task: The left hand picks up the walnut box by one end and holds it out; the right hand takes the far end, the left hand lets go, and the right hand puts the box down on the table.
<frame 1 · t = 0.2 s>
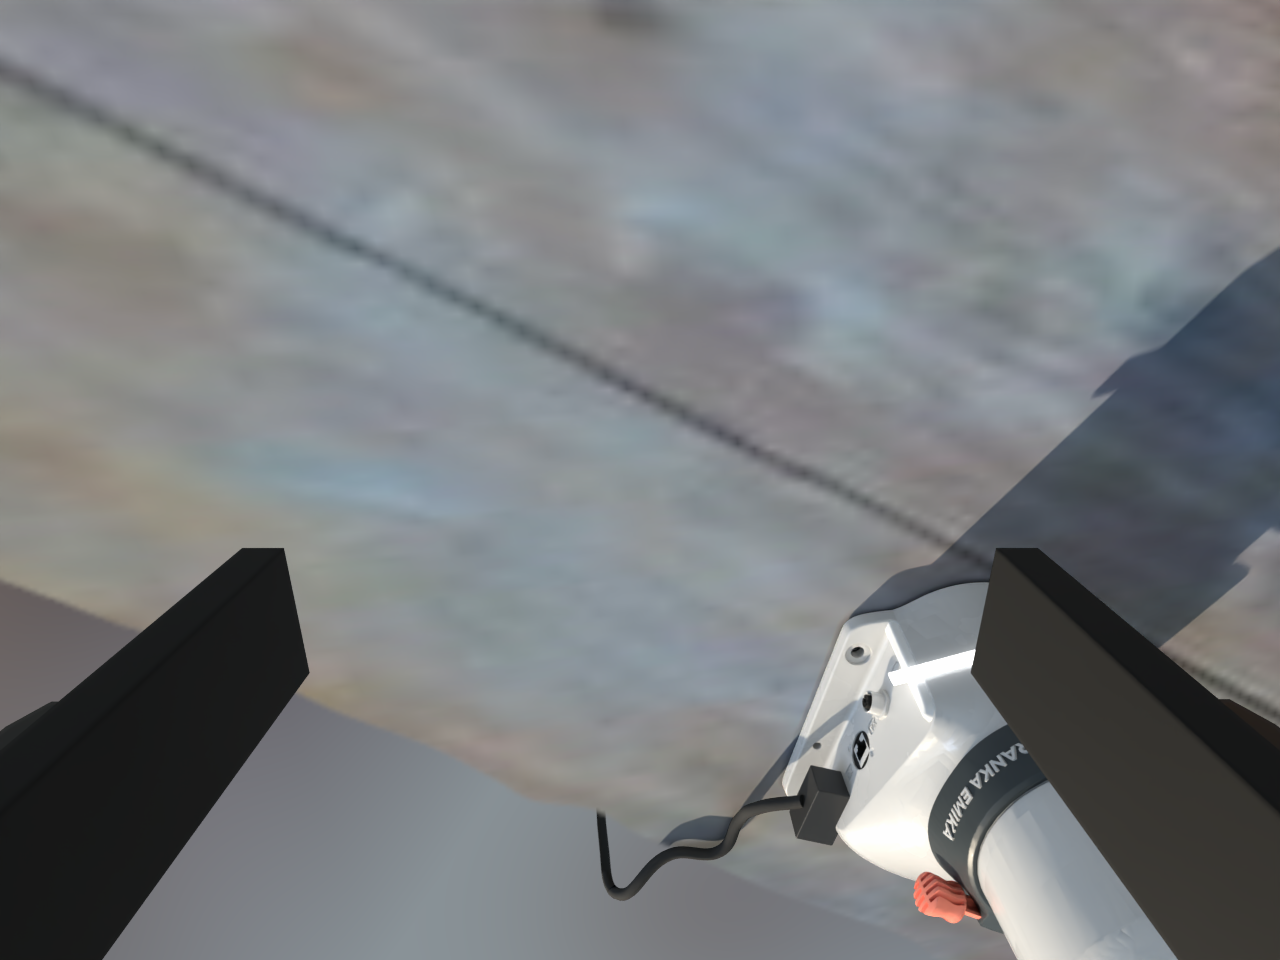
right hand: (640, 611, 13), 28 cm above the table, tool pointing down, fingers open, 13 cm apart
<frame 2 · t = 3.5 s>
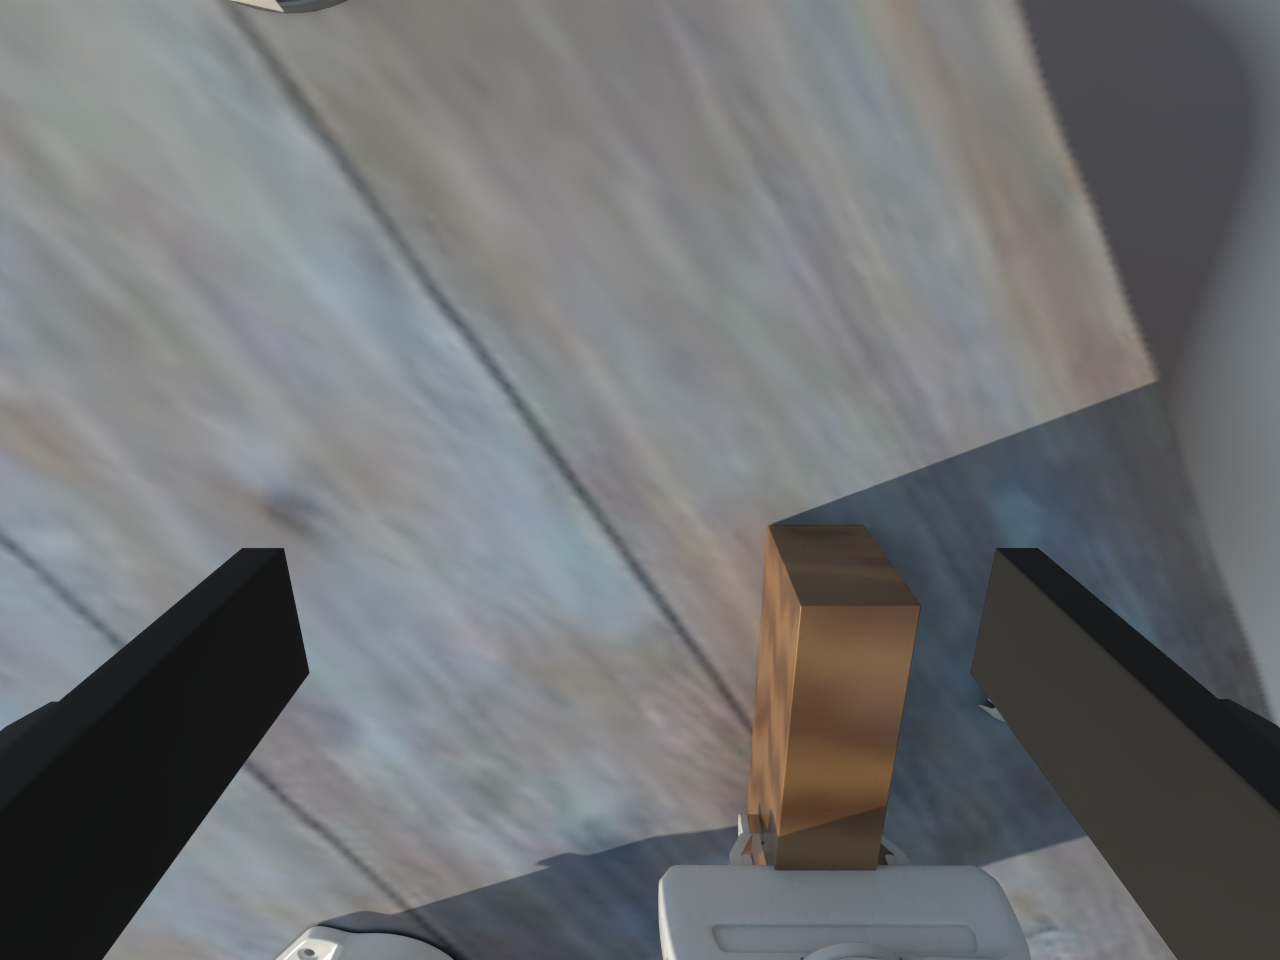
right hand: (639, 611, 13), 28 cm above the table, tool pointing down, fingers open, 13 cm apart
box: (799, 684, 48), on the table, touching left hand
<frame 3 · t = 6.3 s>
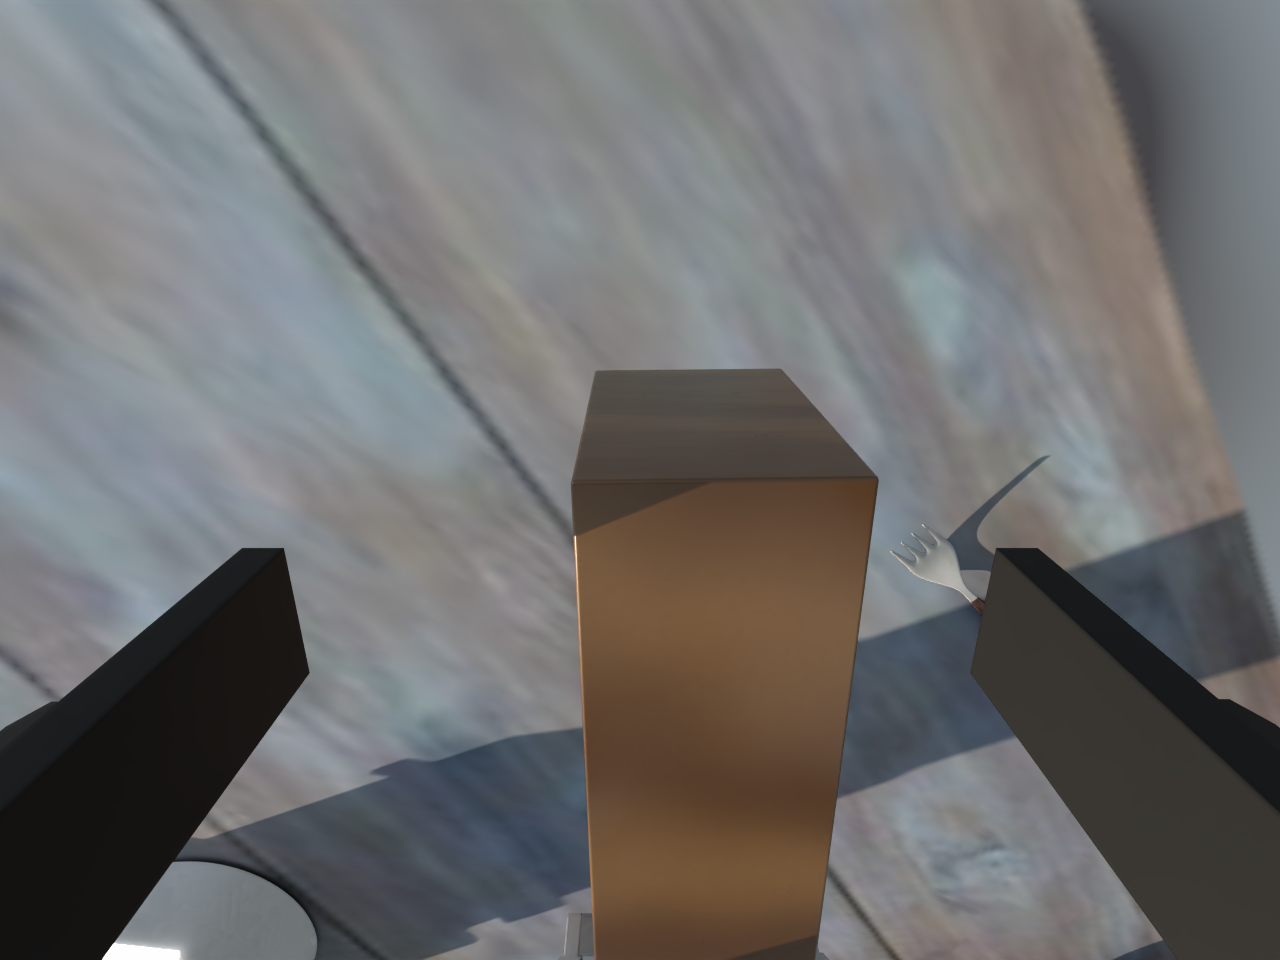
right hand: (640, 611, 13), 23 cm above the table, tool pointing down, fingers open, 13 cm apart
box: (682, 675, 27), point 12 cm above the table, touching left hand
fork: (979, 604, 40), on the table
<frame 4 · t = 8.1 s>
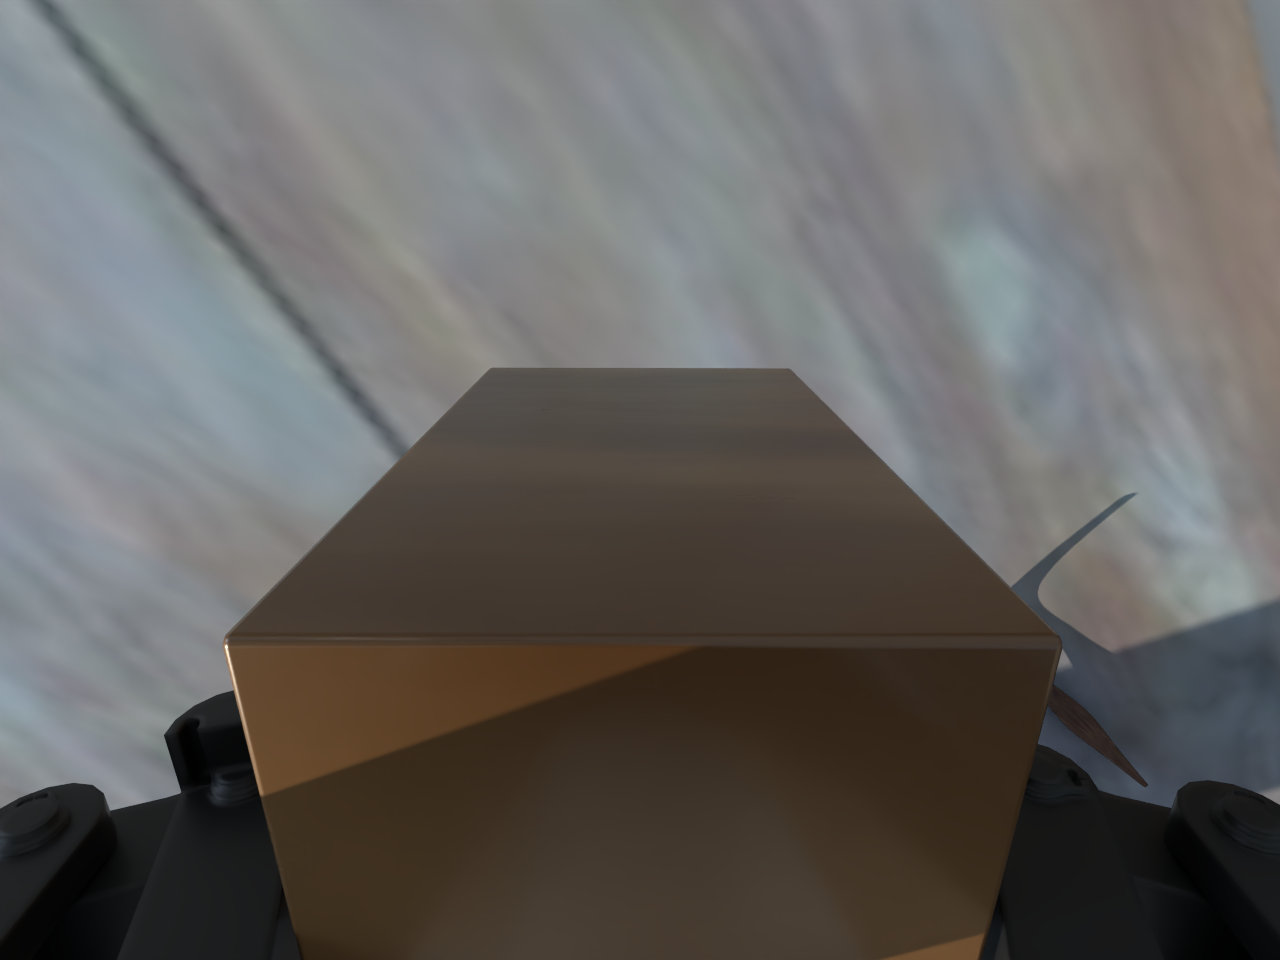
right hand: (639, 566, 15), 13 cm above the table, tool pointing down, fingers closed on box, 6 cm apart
box: (638, 825, 18), point 12 cm above the table, touching right hand, left hand
fork: (1038, 680, 31), on the table
when the left hand's fingers open (17 cm above the table, at t = 9.1 s): box moves 1 cm, held by the right hand.
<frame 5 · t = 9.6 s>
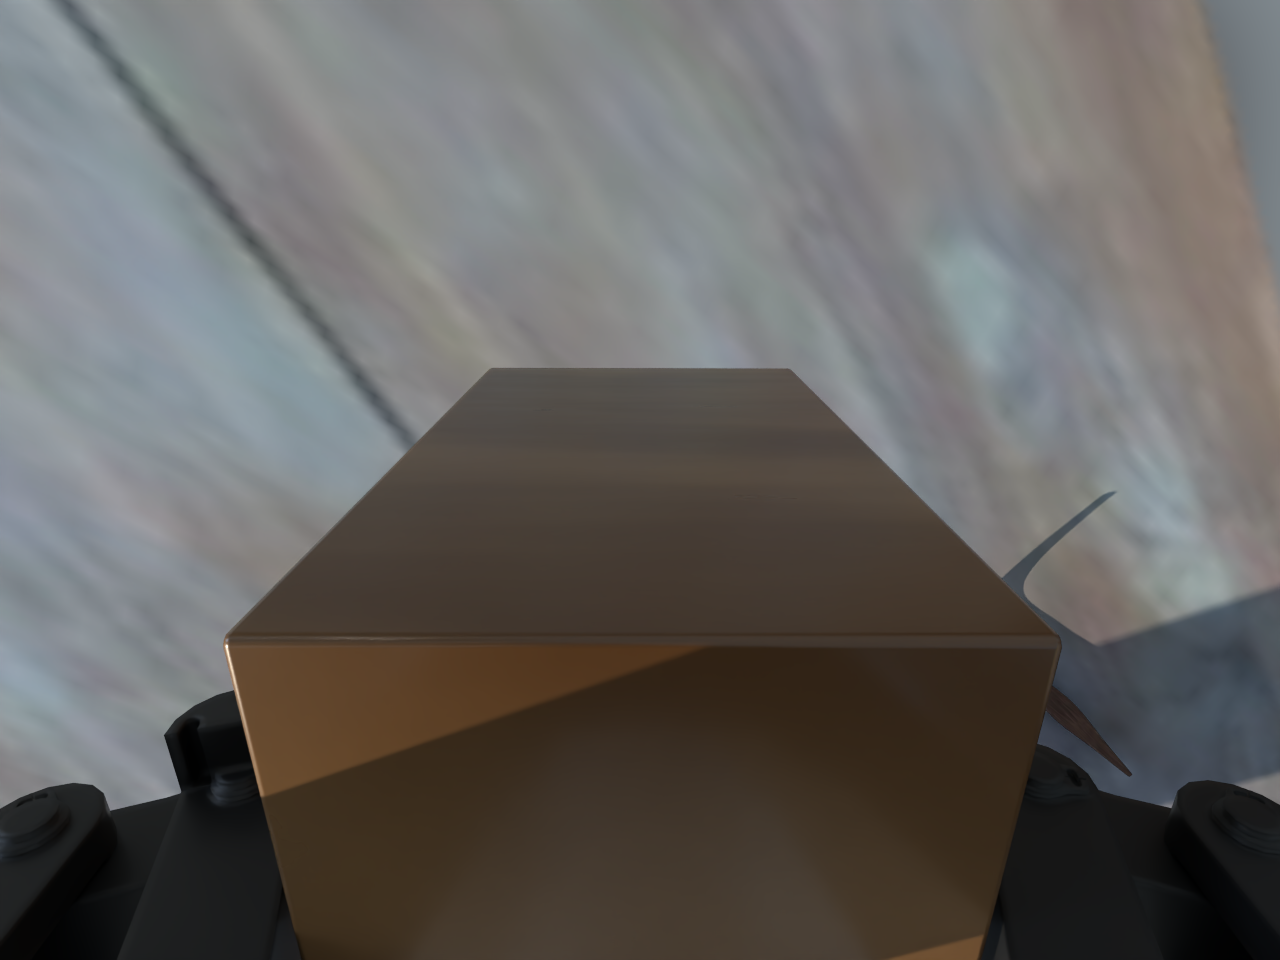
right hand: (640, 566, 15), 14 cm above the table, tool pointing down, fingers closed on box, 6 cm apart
box: (639, 825, 18), point 14 cm above the table, touching right hand
fork: (1025, 672, 33), on the table
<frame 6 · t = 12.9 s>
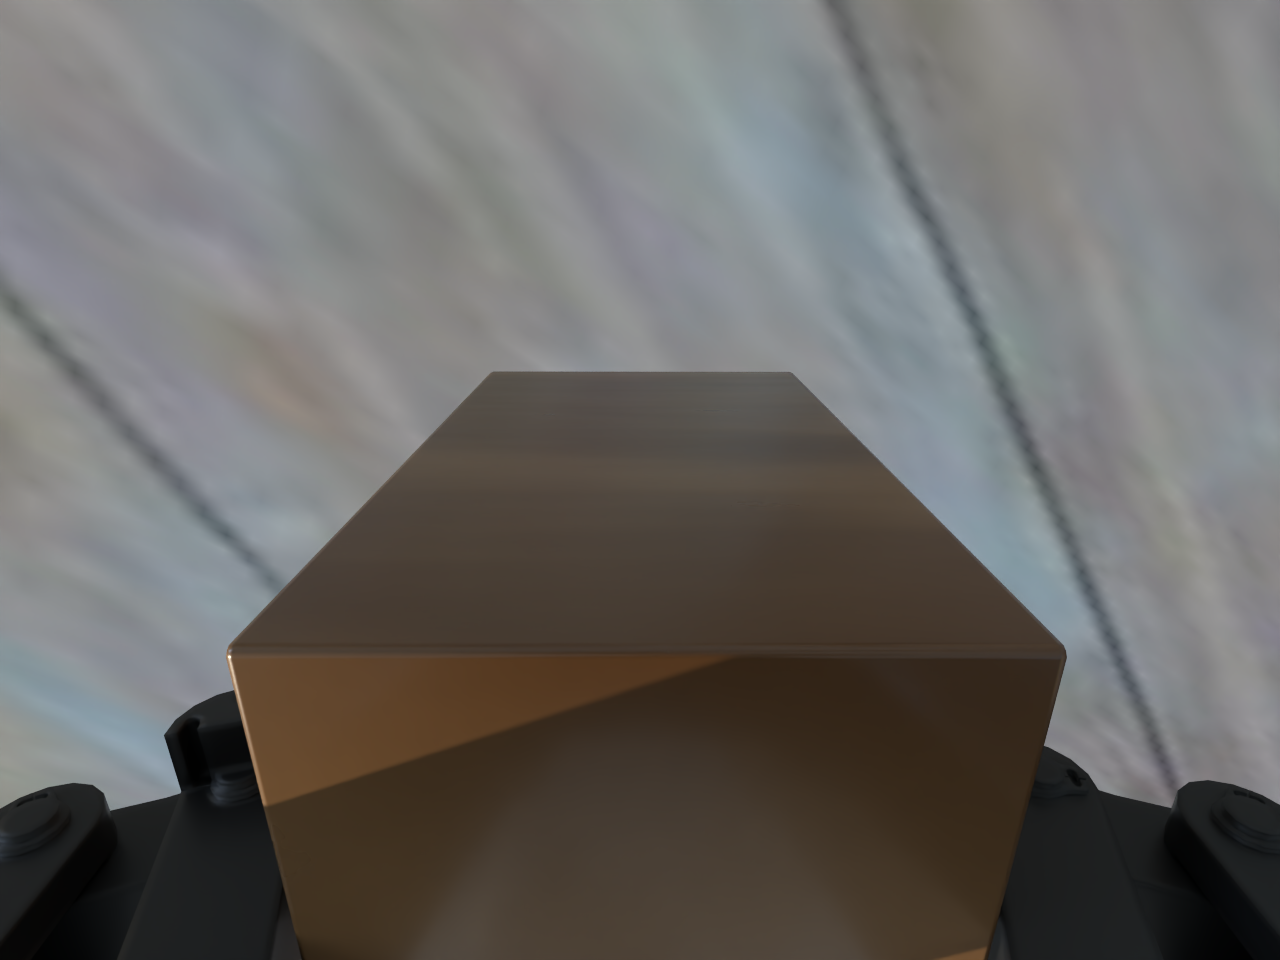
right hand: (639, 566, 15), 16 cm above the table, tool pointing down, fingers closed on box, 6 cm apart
box: (640, 828, 18), point 15 cm above the table, touching right hand
when the right hand's fingers open (2 cm above the table, at t = 17.6 s): box drops 1 cm, on the table.
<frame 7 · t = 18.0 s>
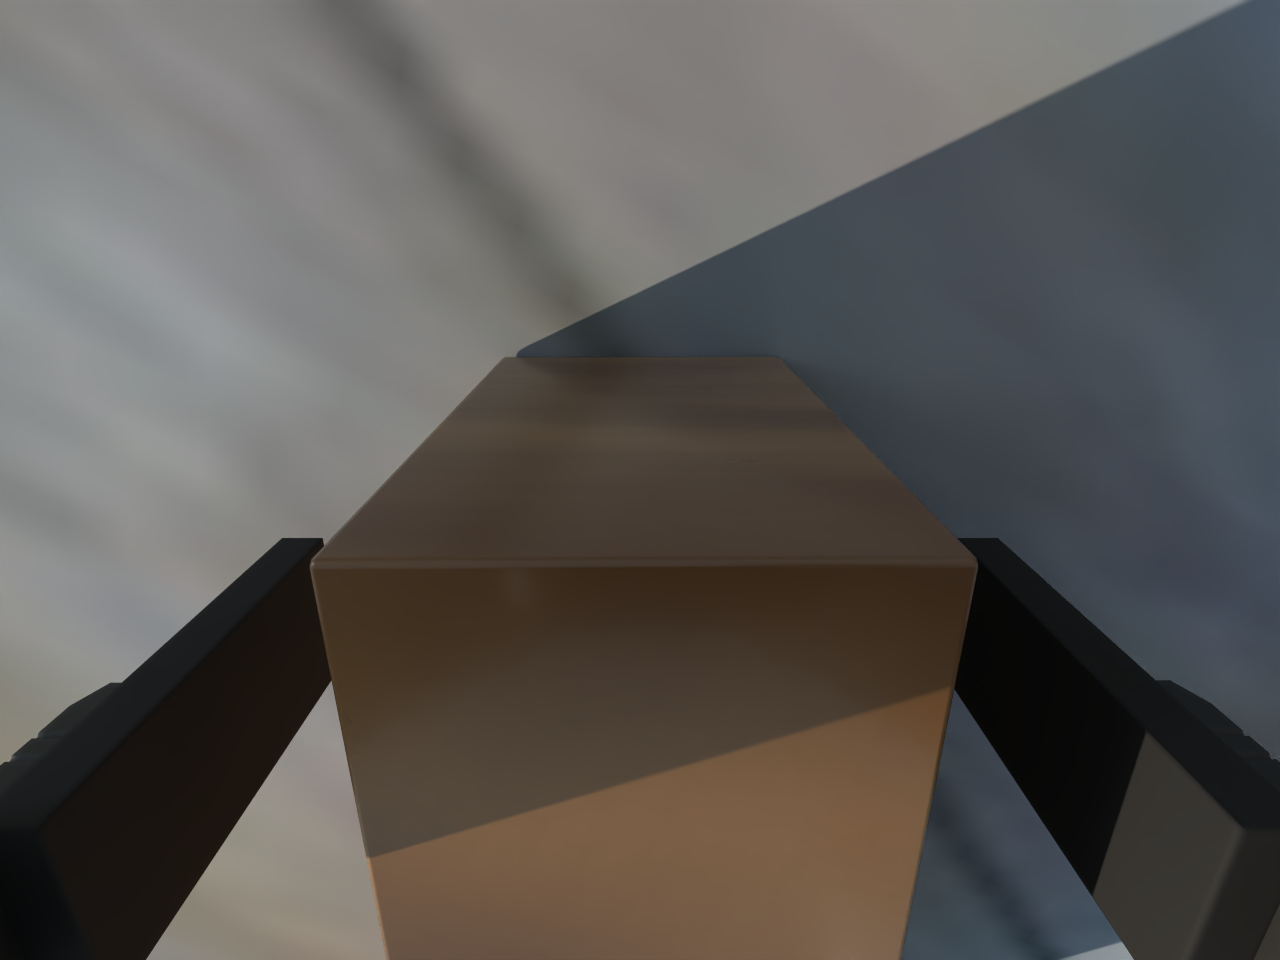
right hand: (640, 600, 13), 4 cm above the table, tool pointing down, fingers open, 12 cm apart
box: (642, 785, 20), on the table
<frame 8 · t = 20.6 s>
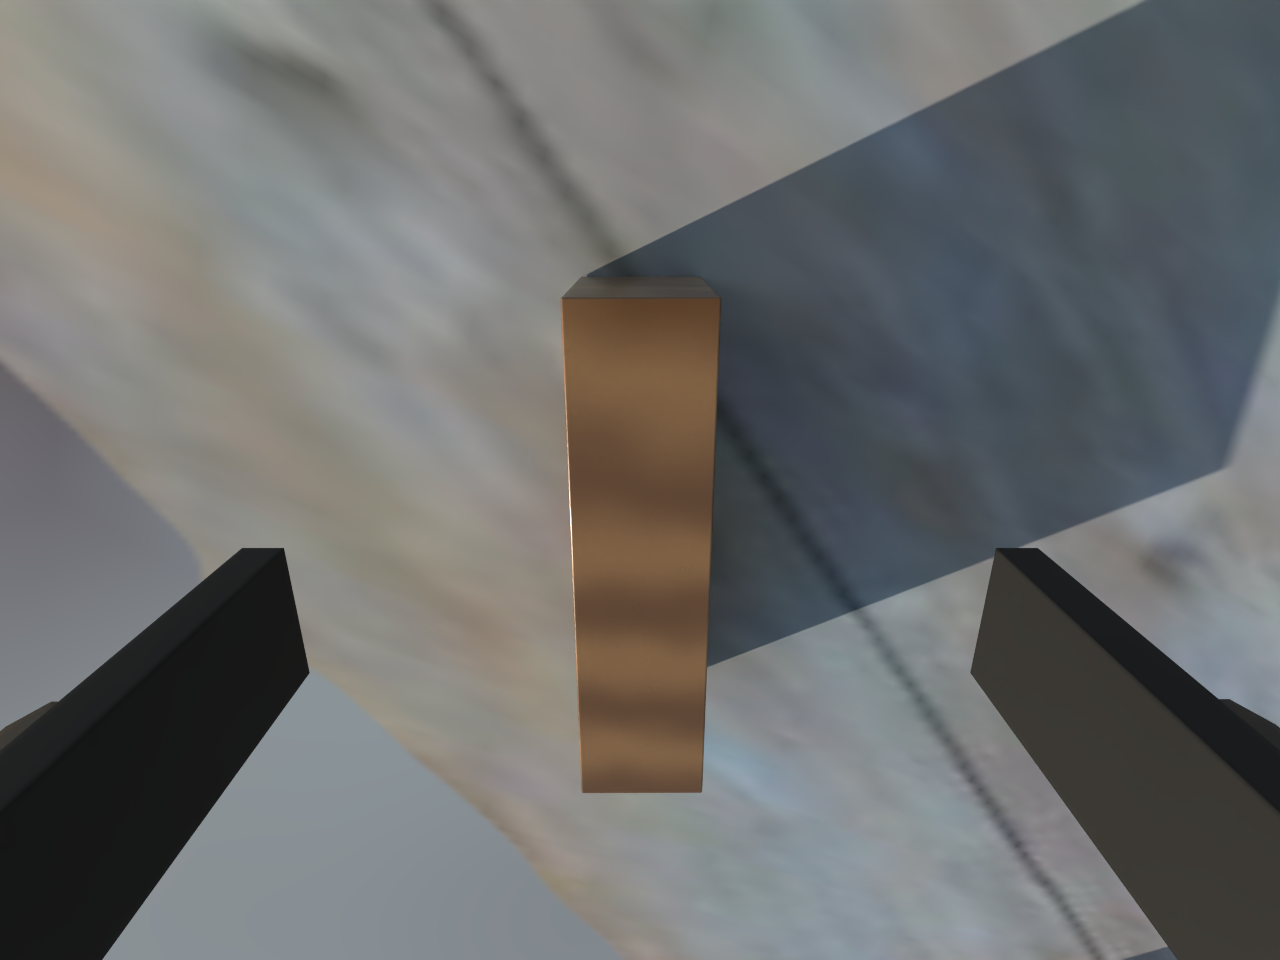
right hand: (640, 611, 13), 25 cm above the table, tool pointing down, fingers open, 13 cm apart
box: (641, 497, 39), on the table
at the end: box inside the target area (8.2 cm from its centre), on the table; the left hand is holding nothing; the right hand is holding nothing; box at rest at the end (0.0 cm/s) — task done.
